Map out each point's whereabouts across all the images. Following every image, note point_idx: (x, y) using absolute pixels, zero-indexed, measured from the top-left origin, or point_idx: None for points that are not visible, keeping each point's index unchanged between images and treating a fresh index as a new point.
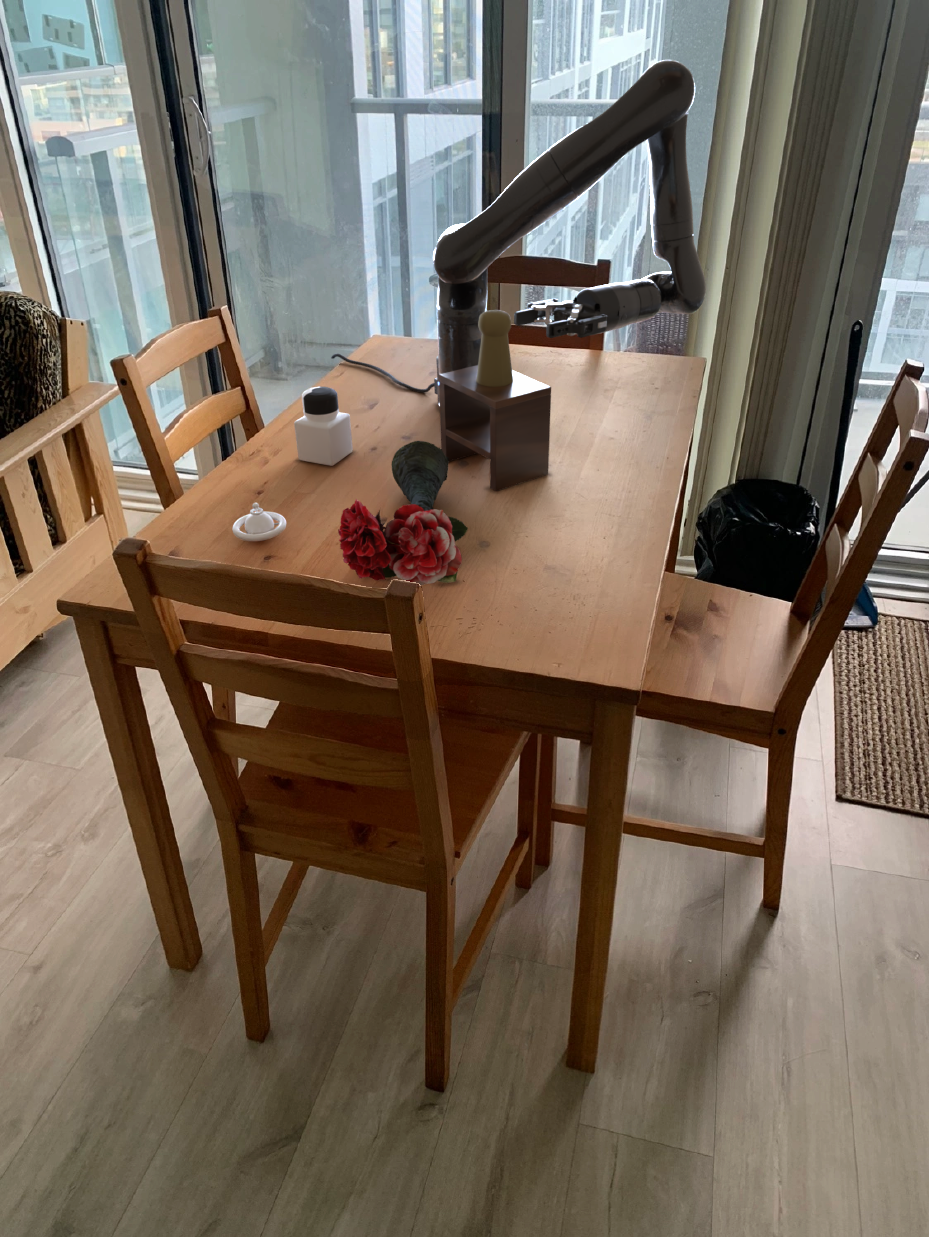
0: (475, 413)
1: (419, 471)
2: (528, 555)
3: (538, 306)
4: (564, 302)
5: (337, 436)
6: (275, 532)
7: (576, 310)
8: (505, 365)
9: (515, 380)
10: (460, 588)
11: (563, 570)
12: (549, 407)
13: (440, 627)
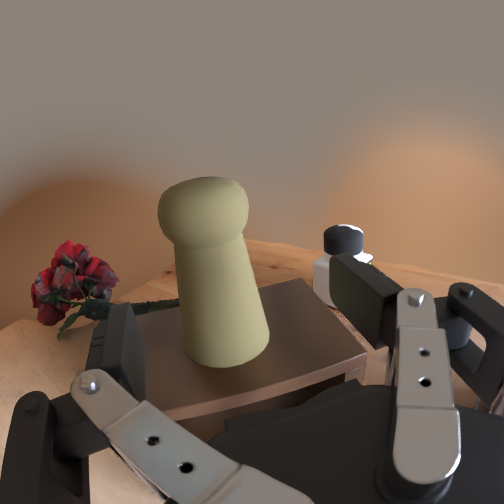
0: (314, 388)
1: (147, 305)
2: (42, 391)
3: (421, 309)
4: (418, 412)
5: (324, 279)
6: None
7: (167, 453)
8: (180, 311)
9: (204, 370)
10: (51, 341)
11: (10, 399)
12: None
13: (35, 323)
